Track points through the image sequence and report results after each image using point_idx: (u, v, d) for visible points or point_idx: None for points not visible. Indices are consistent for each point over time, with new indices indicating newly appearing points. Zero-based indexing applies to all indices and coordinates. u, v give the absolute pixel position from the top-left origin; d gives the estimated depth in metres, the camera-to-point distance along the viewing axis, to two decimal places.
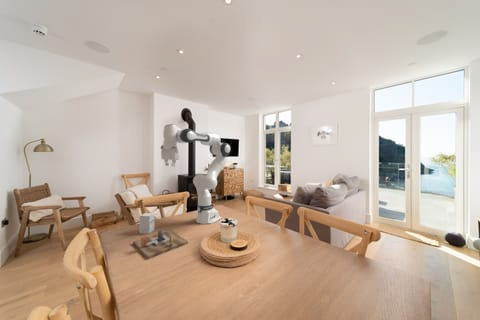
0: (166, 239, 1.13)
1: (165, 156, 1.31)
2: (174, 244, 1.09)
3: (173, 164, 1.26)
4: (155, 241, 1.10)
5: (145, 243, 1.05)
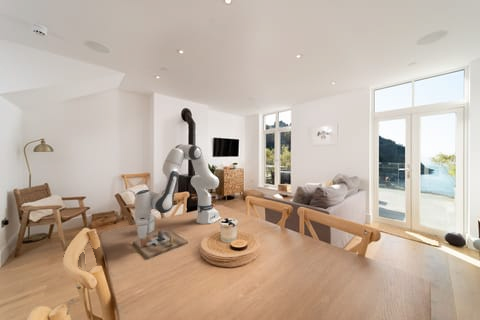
0: (166, 239, 1.13)
1: None
2: (174, 244, 1.09)
3: None
4: (155, 241, 1.10)
5: (145, 243, 1.05)
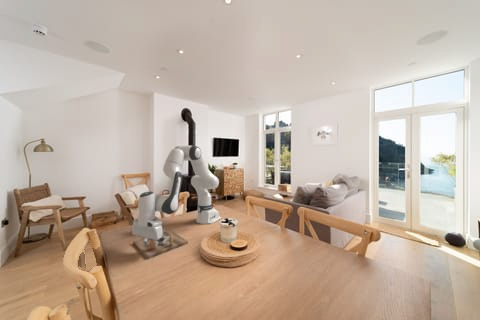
0: (166, 237, 1.15)
1: None
2: (174, 244, 1.09)
3: None
4: (158, 241, 1.10)
5: (155, 245, 1.03)
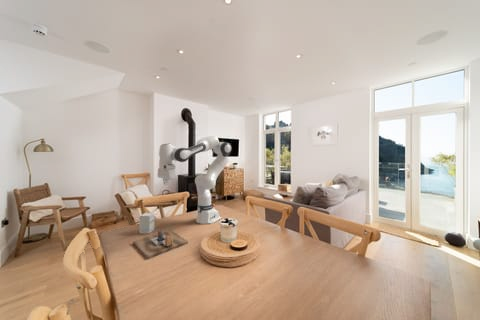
0: (163, 236, 1.17)
1: None
2: (174, 244, 1.09)
3: None
4: (164, 240, 1.11)
5: None
